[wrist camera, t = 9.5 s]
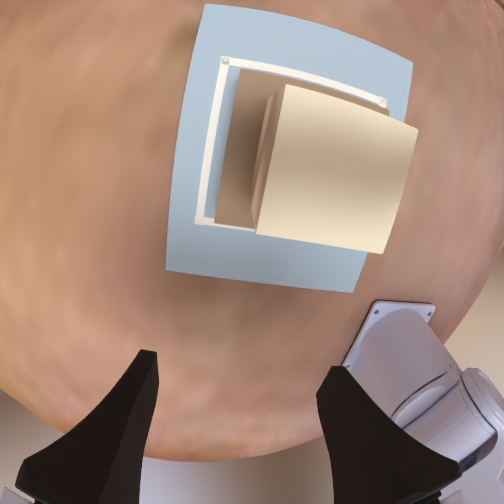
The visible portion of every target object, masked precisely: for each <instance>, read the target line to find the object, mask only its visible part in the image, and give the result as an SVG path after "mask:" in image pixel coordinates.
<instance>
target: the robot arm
mask: <svg viewBox="0 0 504 504" xmlns="http://www.w3.org/2000/svg"><path fill="white" fill-rule="evenodd" d="M376 310H377V311H376ZM434 310H435V306H434V305H433V304H423V303H406V302H391V301H376V302H375V303H374V304H373V306H372V308H371V310H370V312H369V314H368V316H367V318H366V320H365V322H364V324H363V326H362V328H361V330H360V332H359V334H358V336H357V338H356V340H355V342H354V344H353V346H352V348H351V350H350V352H349V353H348V355H347V357H346V359H345V361H344V362H343V364H342V366H332V367H331V368H330V370H329V372H328V374H327V376H326V378H325V379H324V381H323V383H322V385H321V386H320V388H319V390H318V391H317V393H316V398H317V407H318V414H319V418H320V422H321V426H322V430H323V433H324V437H325V441H326V444H327V448H328V452H329V456H330V461H331V469H332V477H333V489H334V504H504V399H503V397H502V395H501V394H500V392H499V391H498V389H497V388H496V387H495V386H494V384H493V383H492V382H491V380H490V379H489V378H488V377H487V376H486V375H485V374H484V373H483V372H482V371H481V370H480V369H478V368H467V369H466V370H465V371H464V372H462V371H461V369H460V368H459V366H458V365H457V363H456V362H455V360H454V359H453V358H452V356H451V355H450V353H449V352H448V351H447V349H446V348H445V346H444V345H443V344H442V342H441V341H440V340H439V338H438V337H437V336H436V334H435V333H434V332H433V330H432V329H431V328H430V326H429V325H428V324H427V323H428V321H429V320H430V318H431V316H432V314H433V312H434ZM375 311H376V312H375ZM158 387H159V375H158V363H157V352H154V351H148V350H143V349H142V350H140V351H139V352H138V354H137V356H136V357H135V359H134V360H133V362H132V363H131V365H130V366H129V367H128V369H127V370H126V372H125V373H124V374H123V376H122V377H121V378H120V379H119V381H118V382H117V383H116V385H115V386H114V387H113V388H112V390H111V391H110V392H109V393H108V394H107V395H106V396H105V398H104V399H103V400H102V401H101V402H100V403H99V404H98V405H97V406H96V407H95V408H94V409H93V410H92V411H91V412H90V413H89V414H88V415H87V416H86V417H85V418H84V419H83V420H82V421H81V422H80V423H78V424H77V425H76V426H75V427H74V428H73V429H71V430H70V431H69V432H68V433H66V434H65V435H64V436H62V437H61V438H59V439H58V440H57V441H55V442H54V443H52V444H51V445H49V446H48V447H46V448H44V449H43V450H41V451H39V452H37V453H35V454H33V455H32V456H30V457H28V458H26V459H24V461H23V463H22V465H21V467H20V470H19V472H18V476H17V479H16V483H15V487H16V488H17V489H19V490H20V491H22V492H24V493H25V494H27V495H29V496H31V497H32V498H34V499H35V502H34V503H32V502H31V501H29V500H27V499H25V498H23V497H21V496H20V495H18V494H16V493H15V492H13V491H11V490H10V489H8V488H7V487H4V489H3V492H2V496H1V500H0V504H139V493H140V479H141V468H142V460H143V453H144V448H145V444H146V440H147V436H148V432H149V428H150V424H151V421H152V417H153V413H154V409H155V405H156V400H157V393H158Z"/></svg>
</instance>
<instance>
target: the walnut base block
mask: <svg viewBox="0 0 504 504" xmlns="http://www.w3.org/2000/svg"><path fill="white" fill-rule="evenodd" d="M286 84H288V85H292V86H297V87H301V88H304V89H308V90H312V91H316V92H319V93H323V94H326V95H330V96H333V97H336V98H339V99H342V100H345V101H348V102H351V103H354V104H357V105H360V106H363V107H366V108H368V109H371V110H374V111H376V112H379V113H381V114H384V115H386V116H389V112H390V110H388V109H386V108H383V107H381V106H378V105H376V104H373V103H370V102H368V101H365V100H362V99H360V98H357V97H354V96H351V95H348V94H345V93H342V92H339V91H336V90H333V89H329V88H326V87H323V86H319V85H316V84H312V83H308V82H304V81H300V80H296V79H292V78H288V77H284V76H279V75H274V74H269V73H264V72H259V71H253V70H247V69H240V74H239V79H238V84H237V89H236V94H235V99H234V104H233V109H232V115H231V120H230V126H229V131H228V137H227V143H226V148H225V154H224V160H223V166H222V173H221V179H220V185H219V192H218V199H217V205H216V212H215V219H214V223H216V224H223V225H230V226H237V227H244V228H251V229H255V227H254V221H253V216H252V211H251V206H250V201H249V192H250V187H251V182H252V176H253V171H254V166H255V161H256V155H257V150H258V145H259V140H260V135H261V130H262V124H263V119H264V114H265V109H266V104H267V99H268V98H269V97H271V96H272V95H273V94H274V93H276V92H277V91H278V90H279V89H281V88H282V87H283V86H284V85H286Z"/></svg>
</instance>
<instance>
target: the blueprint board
mask: <svg viewBox="0 0 504 504" xmlns="http://www.w3.org/2000/svg"><path fill="white" fill-rule="evenodd" d="M240 69H247V70H253V71H259V72H264V73H269V74H274V75H279V76H284V77H288V78H292V79H296V80H300V81H304V82H308V83H312V84H316V85H319V86H323V87H326V88H329V89H333V90H336V91H339V92H342V93H345V94H348V95H351V96H354V97H357V98H360V99H362V100H365V101H368V102H370V103H373V104H376V105H378V106H381V107H383V108H386V109H388V110H390V112H389V117H391V118H393V119H396V120H398V121H400V122H403V123H404V120H405V115H406V109H407V104H408V98H409V91H410V85H411V78H412V70H413V63H412V62H411V61H409V60H407V59H405V58H403V57H401V56H399V55H397V54H395V53H393V52H391V51H389V50H386V49H384V48H382V47H380V46H378V45H375V44H373V43H371V42H368V41H366V40H363V39H361V38H358V37H356V36H353V35H350V34H348V33H345V32H342V31H339V30H336V29H333V28H330V27H327V26H324V25H321V24H317V23H314V22H310V21H307V20H303V19H299V18H295V17H291V16H287V15H282V14H277V13H272V12H267V11H262V10H256V9H249V8H242V7H234V6H225V5H213V4H205V8H204V11H203V15H202V18H201V22H200V26H199V30H198V34H197V38H196V42H195V46H194V50H193V55H192V59H191V64H190V68H189V73H188V78H187V83H186V88H185V94H184V99H183V105H182V110H181V117H180V123H179V129H178V136H177V143H176V150H175V158H174V166H173V175H172V184H171V194H170V206H169V218H168V232H167V250H166V270H167V271H174V272H181V273H188V274H195V275H202V276H209V277H217V278H224V279H232V280H240V281H248V282H256V283H264V284H273V285H282V286H290V287H299V288H309V289H318V290H328V291H338V292H349V293H353V290H354V288H355V285H356V283H357V280H358V278H359V275H360V273H361V270H362V267H363V265H364V262H365V259H366V257H367V254H368V252H366V251H360V250H355V249H348V248H342V247H336V246H330V245H324V244H318V243H311V242H305V241H299V240H292V239H286V238H279V237H273V236H266V235H259V234H256V232H255V229H251V228H244V227H237V226H230V225H223V224H216V223H214V219H215V212H216V205H217V199H218V192H219V185H220V179H221V173H222V166H223V160H224V154H225V148H226V143H227V137H228V131H229V126H230V120H231V115H232V109H233V104H234V99H235V94H236V89H237V84H238V79H239V74H240Z"/></svg>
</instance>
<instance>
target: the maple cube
mask: <svg viewBox="0 0 504 504" xmlns="http://www.w3.org/2000/svg"><path fill="white" fill-rule="evenodd" d="M417 134H418V129H416V128H414V127H412V126H409V125H407V124H405V123H403V122H400V121H398V120H396V119H393V118H391V117H389V116H386V115H384V114H381V113H379V112H376V111H374V110H371V109H368V108H366V107H363V106H360V105H357V104H354V103H351V102H348V101H345V100H342V99H339V98H336V97H333V96H330V95H326V94H323V93H319V92H316V91H312V90H308V89H304V88H301V87H297V86H292V85H288V84H286V85H284V86H283V87H282V88H281V89H279V90H278V91H277V92H276V93H274V94H273V95H272V96H271V97H269V98H268V99H267V104H266V109H265V114H264V119H263V124H262V130H261V135H260V140H259V145H258V150H257V155H256V161H255V166H254V171H253V176H252V182H251V187H250V192H249V201H250V206H251V211H252V216H253V221H254V227H255V232H256V234H259V235H266V236H273V237H279V238H286V239H292V240H299V241H305V242H311V243H318V244H324V245H330V246H336V247H342V248H348V249H355V250H360V251H366V252H372V253H378V254H383V251H384V249H385V246H386V243H387V240H388V237H389V235H390V232H391V229H392V226H393V223H394V220H395V217H396V214H397V210H398V207H399V204H400V201H401V197H402V194H403V190H404V187H405V183H406V180H407V176H408V172H409V168H410V164H411V160H412V156H413V152H414V148H415V143H416V138H417Z"/></svg>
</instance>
